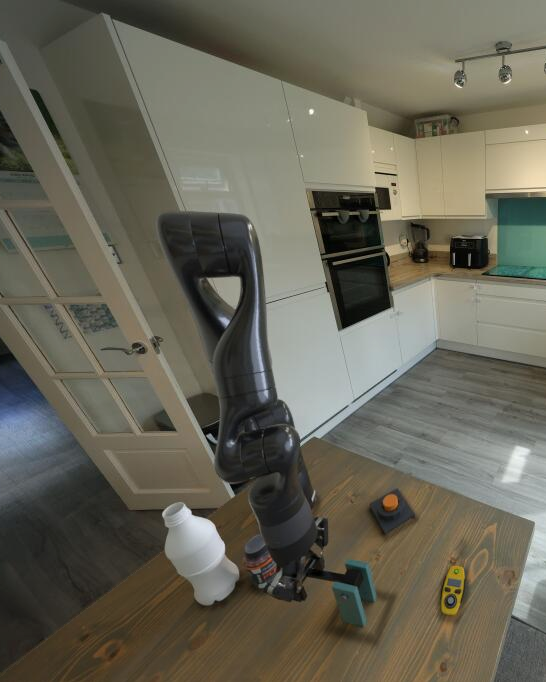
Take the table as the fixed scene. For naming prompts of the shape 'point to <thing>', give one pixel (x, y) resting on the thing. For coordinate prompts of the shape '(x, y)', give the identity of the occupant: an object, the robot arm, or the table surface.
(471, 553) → the table surface
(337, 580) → the lever
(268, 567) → the supplement bottle
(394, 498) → the button
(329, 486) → the table surface
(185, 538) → the water bottle
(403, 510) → the control block
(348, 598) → the pair of teal panels
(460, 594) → the remote control
